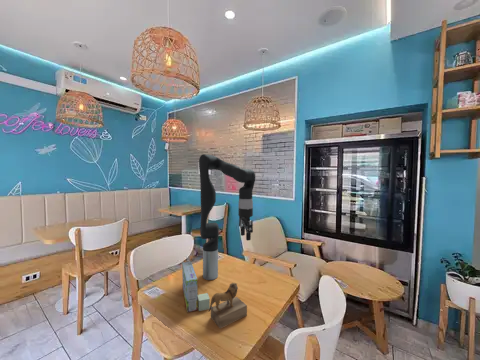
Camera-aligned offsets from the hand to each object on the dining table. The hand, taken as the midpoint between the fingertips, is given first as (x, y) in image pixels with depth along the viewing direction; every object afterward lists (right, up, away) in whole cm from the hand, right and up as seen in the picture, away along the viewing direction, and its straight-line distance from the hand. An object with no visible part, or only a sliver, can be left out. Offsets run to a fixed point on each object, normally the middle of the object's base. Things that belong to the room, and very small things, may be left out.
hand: (245, 237), depth 110 cm
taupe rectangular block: (-8, -31, -17) cm, 36 cm away
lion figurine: (-10, -26, -17) cm, 33 cm away
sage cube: (-20, -30, -10) cm, 38 cm away
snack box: (-29, -30, -4) cm, 42 cm away
